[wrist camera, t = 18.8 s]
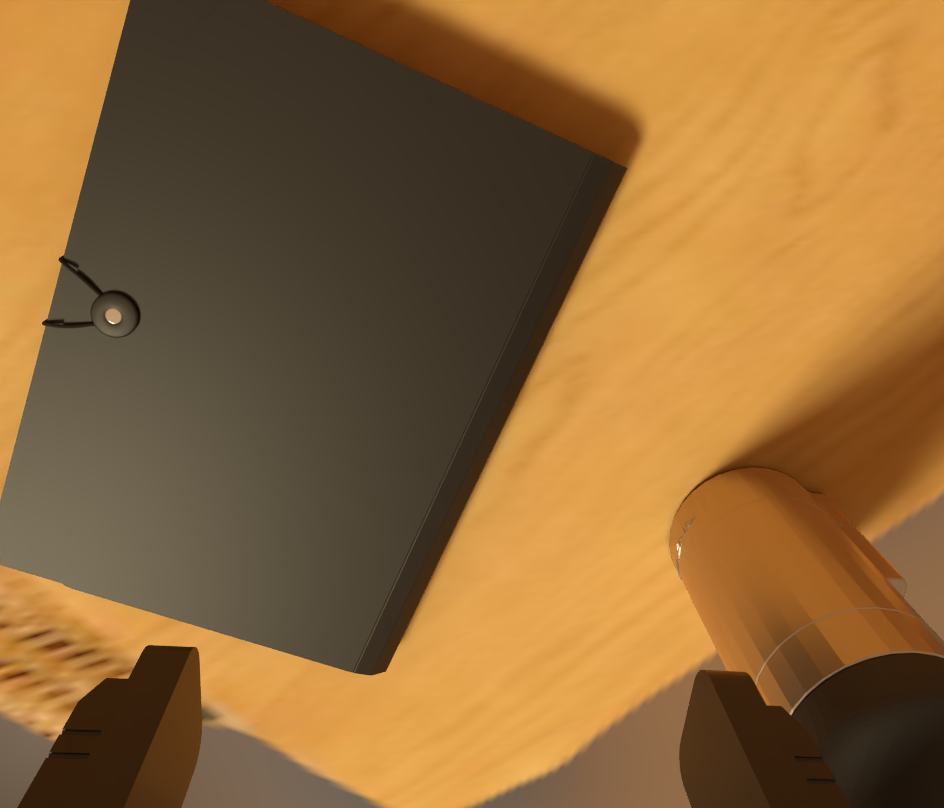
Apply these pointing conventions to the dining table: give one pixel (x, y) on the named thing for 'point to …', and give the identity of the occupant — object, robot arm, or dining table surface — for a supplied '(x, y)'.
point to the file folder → (286, 329)
